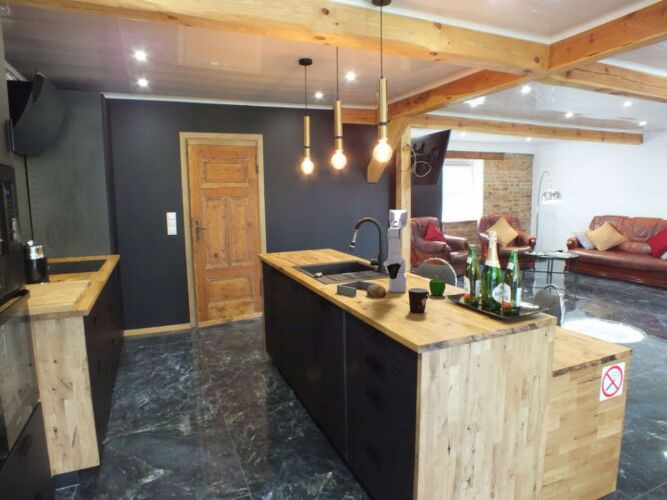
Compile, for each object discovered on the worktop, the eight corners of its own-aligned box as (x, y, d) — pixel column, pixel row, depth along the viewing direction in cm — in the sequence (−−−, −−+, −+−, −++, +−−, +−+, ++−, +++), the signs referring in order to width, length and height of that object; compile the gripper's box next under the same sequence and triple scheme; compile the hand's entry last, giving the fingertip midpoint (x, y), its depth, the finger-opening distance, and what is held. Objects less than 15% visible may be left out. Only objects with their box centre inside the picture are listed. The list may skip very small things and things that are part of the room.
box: (376, 290, 232) (376, 283, 232) (354, 296, 219) (354, 288, 218) (358, 287, 240) (358, 280, 240) (337, 292, 227) (337, 285, 226)
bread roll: (364, 302, 223) (360, 289, 219) (376, 291, 229) (372, 278, 225) (379, 305, 216) (375, 292, 212) (391, 294, 222) (387, 281, 218)
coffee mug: (412, 315, 186) (413, 292, 185) (404, 309, 194) (405, 288, 193) (436, 313, 189) (437, 291, 188) (427, 308, 198) (428, 287, 196)
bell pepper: (445, 297, 219) (446, 278, 218) (429, 296, 221) (429, 277, 220) (444, 293, 227) (445, 275, 226) (428, 292, 229) (429, 274, 228)
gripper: (395, 249, 219) (394, 275, 221) (378, 252, 208) (378, 279, 210) (407, 251, 214) (406, 277, 216) (390, 253, 204) (389, 281, 206)
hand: (393, 278), depth 213 cm, fingers closed
